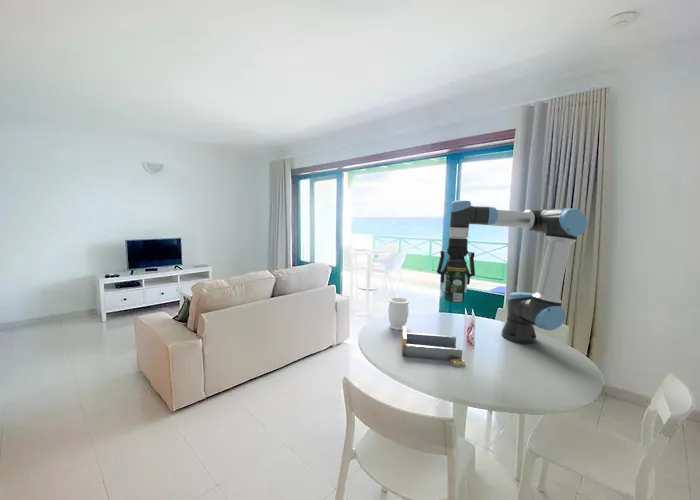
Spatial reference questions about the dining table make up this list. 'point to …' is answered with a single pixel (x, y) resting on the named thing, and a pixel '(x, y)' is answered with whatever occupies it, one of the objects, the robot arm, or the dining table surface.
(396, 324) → the jar
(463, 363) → the brass key block
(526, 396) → the dining table surface
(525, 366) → the dining table surface
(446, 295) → the coffee jar
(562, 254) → the robot arm
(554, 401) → the dining table surface
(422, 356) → the channel
